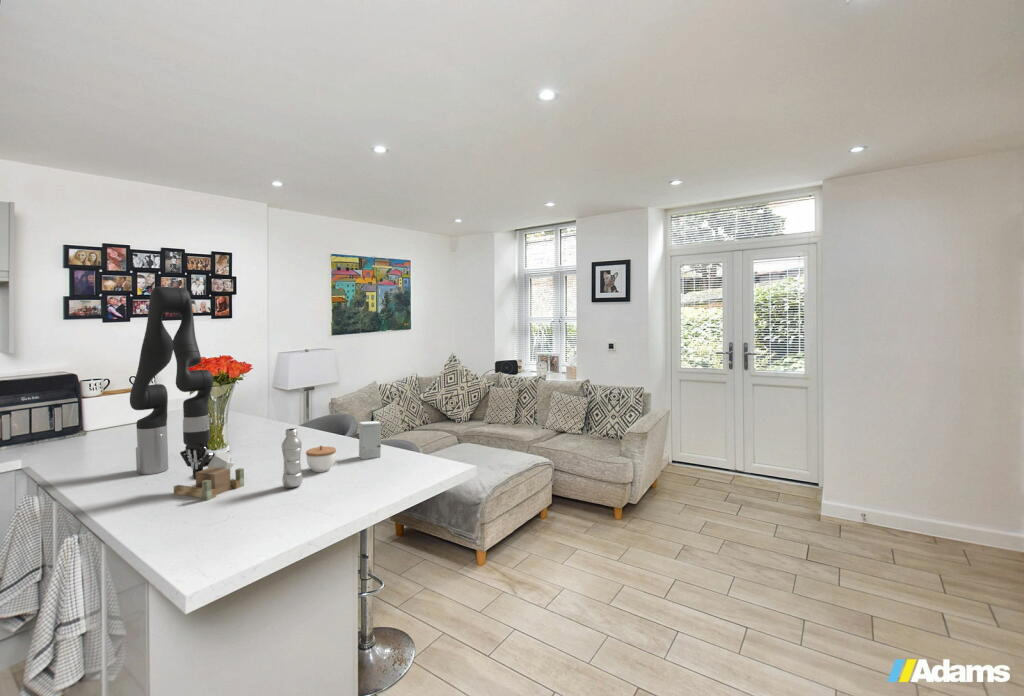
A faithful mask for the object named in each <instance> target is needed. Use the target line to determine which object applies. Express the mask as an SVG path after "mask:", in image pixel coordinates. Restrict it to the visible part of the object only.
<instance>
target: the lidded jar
mask: <svg viewBox="0 0 1024 696" xmlns="http://www.w3.org/2000/svg"><path fill="white" fill-rule="evenodd" d="M336 453H337V448H336V447H333V446H323V445H319V446H317V447H312V448H309V449H307V450H306V451H305V454H306V455H305V456H306V462H307V465H308V467H309V468H310V469H311V471H313V472H314V473H323V472H327V471H330V470H329V469H331V468H332V467H333V466H334V465H335V461H336V457H337V456H336V455H337V454H336Z"/></svg>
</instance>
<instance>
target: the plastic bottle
mask: <svg viewBox="0 0 1024 696" xmlns="http://www.w3.org/2000/svg"><path fill="white" fill-rule="evenodd" d="M297 435H298V428H296V427H295V428H294V427H293V428H292V427H291V428H287V429H285V436H286V437H285V438H284V439H283V441H282V442H281V451H282V457H283V473H282V477H281V478H282V479H281V480H282V485H283V487H284V488H288V489H289V488H291V489H292V488H297V487H300V486H301V485H302V483H303V472H302V466H301V457H302V456H301V453H302V445H303V444H302V440H301V439H300V438H299V437H298V436H297Z"/></svg>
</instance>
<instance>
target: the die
mask: <svg viewBox="0 0 1024 696" xmlns="http://www.w3.org/2000/svg"><path fill="white" fill-rule="evenodd" d="M214 453H215V455H214V457H213V458H212V460H211V461H210V463H209V465H208V466H206V467H207V468H211V467H215V468H225V469H230V470H231V469H232V468H233V467H234V465H235V464H236V463H235V461H234V459H233V457H232V455H231V454H230V452H228V451H220V452H218V451H217V452H216V451H215V452H214Z"/></svg>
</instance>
